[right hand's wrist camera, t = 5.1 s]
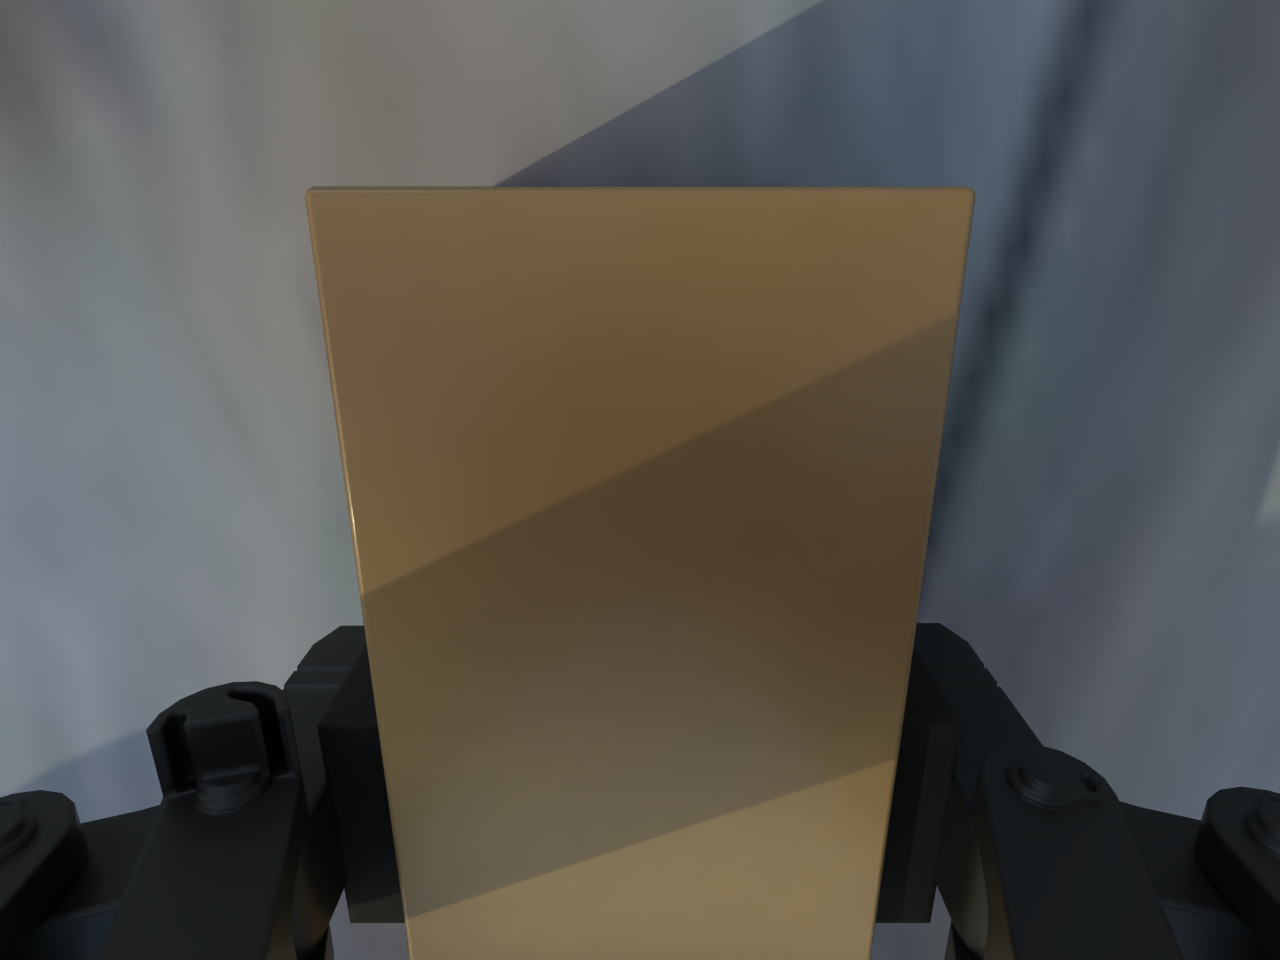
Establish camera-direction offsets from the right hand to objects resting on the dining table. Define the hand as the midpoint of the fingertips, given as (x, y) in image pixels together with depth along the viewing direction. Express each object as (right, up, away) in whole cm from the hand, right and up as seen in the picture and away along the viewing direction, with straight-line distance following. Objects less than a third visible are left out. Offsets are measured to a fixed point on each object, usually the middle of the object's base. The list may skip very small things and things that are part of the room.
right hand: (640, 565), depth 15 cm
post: (0, -27, +10) cm, 29 cm away
